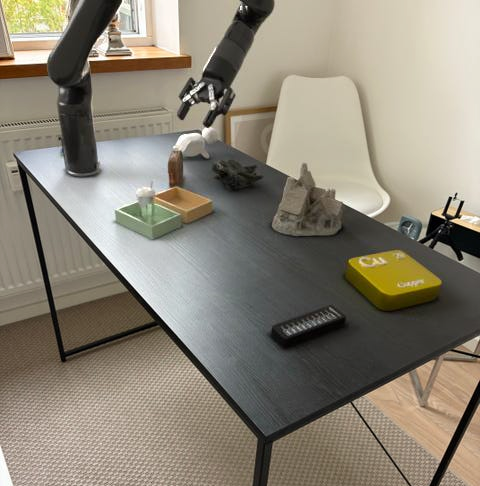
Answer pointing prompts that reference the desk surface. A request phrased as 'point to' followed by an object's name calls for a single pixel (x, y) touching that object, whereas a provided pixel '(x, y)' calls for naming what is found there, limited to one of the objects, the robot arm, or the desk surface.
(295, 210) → the ceramic cottage
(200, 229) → the desk surface
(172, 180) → the tin
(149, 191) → the milkshake
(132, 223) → the bin left
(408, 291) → the element tile
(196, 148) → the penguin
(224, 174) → the mineral specimen
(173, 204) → the bin right
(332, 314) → the multiport hub
